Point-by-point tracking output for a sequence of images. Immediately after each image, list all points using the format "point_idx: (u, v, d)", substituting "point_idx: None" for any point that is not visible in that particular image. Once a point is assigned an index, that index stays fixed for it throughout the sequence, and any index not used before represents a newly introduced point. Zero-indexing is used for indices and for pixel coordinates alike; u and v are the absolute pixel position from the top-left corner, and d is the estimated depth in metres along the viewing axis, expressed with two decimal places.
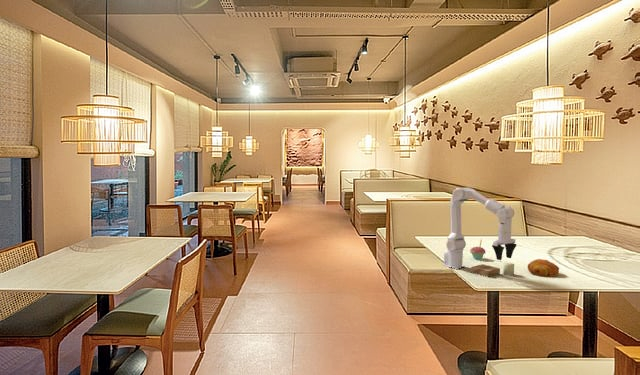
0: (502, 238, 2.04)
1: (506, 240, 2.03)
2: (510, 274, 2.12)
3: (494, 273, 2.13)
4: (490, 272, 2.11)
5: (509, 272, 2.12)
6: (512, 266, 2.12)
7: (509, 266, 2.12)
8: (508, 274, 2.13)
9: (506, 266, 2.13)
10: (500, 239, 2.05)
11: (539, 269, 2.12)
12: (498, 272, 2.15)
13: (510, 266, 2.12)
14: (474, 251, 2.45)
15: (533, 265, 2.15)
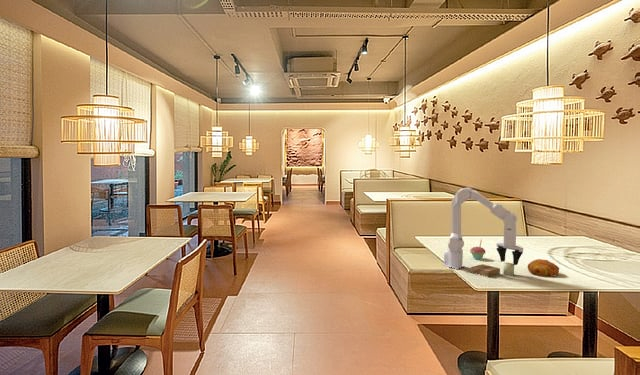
0: None
1: (503, 244, 2.14)
2: (510, 274, 2.12)
3: (494, 273, 2.13)
4: (490, 272, 2.11)
5: (509, 272, 2.12)
6: (512, 266, 2.12)
7: (509, 266, 2.12)
8: (508, 274, 2.13)
9: (506, 266, 2.13)
10: None
11: (539, 269, 2.12)
12: (498, 272, 2.15)
13: (510, 266, 2.12)
14: (474, 251, 2.45)
15: (533, 265, 2.15)
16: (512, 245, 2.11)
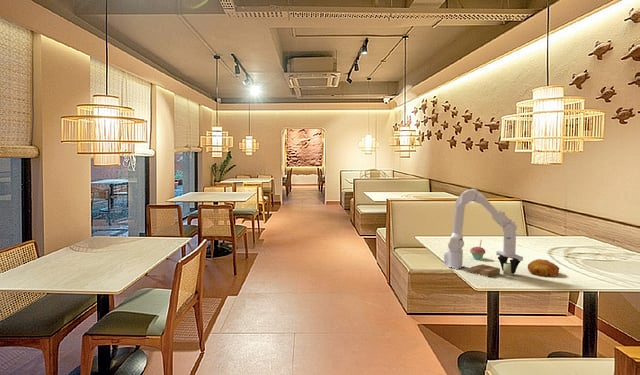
0: None
1: (503, 252, 2.14)
2: (510, 274, 2.12)
3: (494, 273, 2.13)
4: (490, 272, 2.11)
5: (509, 272, 2.12)
6: None
7: (509, 266, 2.12)
8: (508, 274, 2.13)
9: (506, 266, 2.13)
10: None
11: (539, 269, 2.12)
12: (498, 272, 2.15)
13: (510, 266, 2.12)
14: (474, 251, 2.45)
15: (533, 265, 2.15)
16: (512, 254, 2.11)
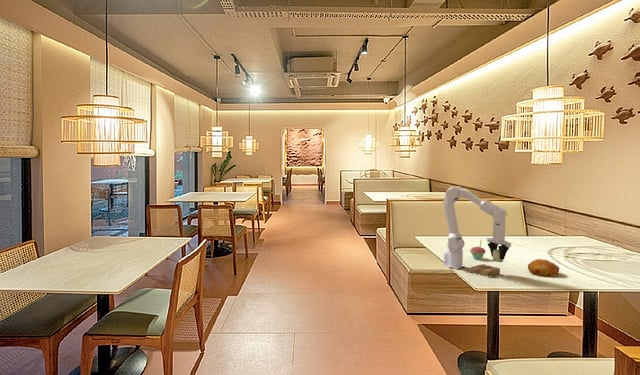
0: None
1: (492, 239, 2.15)
2: (499, 260, 2.13)
3: (494, 273, 2.13)
4: (490, 272, 2.11)
5: (498, 258, 2.13)
6: None
7: (498, 252, 2.13)
8: (497, 260, 2.13)
9: (495, 252, 2.14)
10: None
11: (539, 269, 2.12)
12: (498, 272, 2.15)
13: (499, 252, 2.13)
14: (474, 251, 2.45)
15: (533, 265, 2.15)
16: (500, 240, 2.12)
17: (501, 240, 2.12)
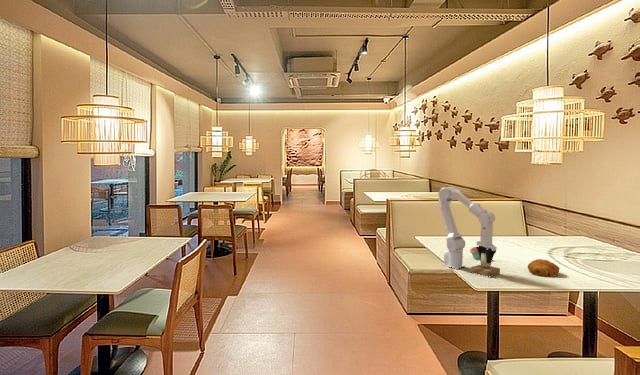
0: None
1: (480, 242, 2.17)
2: (486, 264, 2.14)
3: (494, 273, 2.13)
4: (490, 272, 2.11)
5: (485, 262, 2.14)
6: None
7: (485, 256, 2.14)
8: (484, 264, 2.15)
9: (482, 256, 2.15)
10: None
11: (539, 269, 2.12)
12: (498, 272, 2.15)
13: None
14: (474, 251, 2.45)
15: (533, 265, 2.15)
16: (487, 244, 2.13)
17: (488, 244, 2.13)
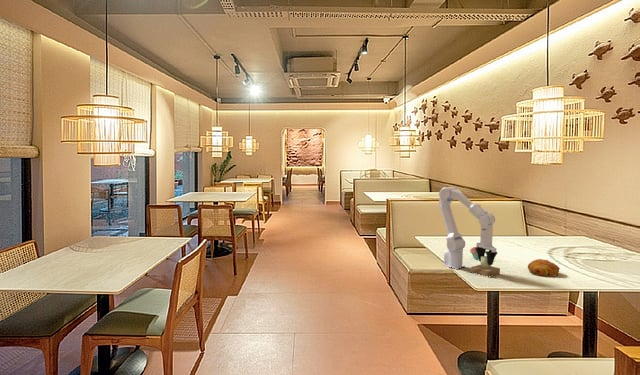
0: None
1: (480, 244, 2.17)
2: (485, 267, 2.14)
3: (494, 273, 2.13)
4: (490, 272, 2.11)
5: (484, 265, 2.14)
6: None
7: (485, 259, 2.14)
8: (483, 267, 2.15)
9: (482, 259, 2.15)
10: None
11: (539, 269, 2.12)
12: (498, 272, 2.15)
13: (485, 259, 2.14)
14: (474, 251, 2.45)
15: (533, 265, 2.15)
16: (487, 245, 2.13)
17: (487, 245, 2.13)
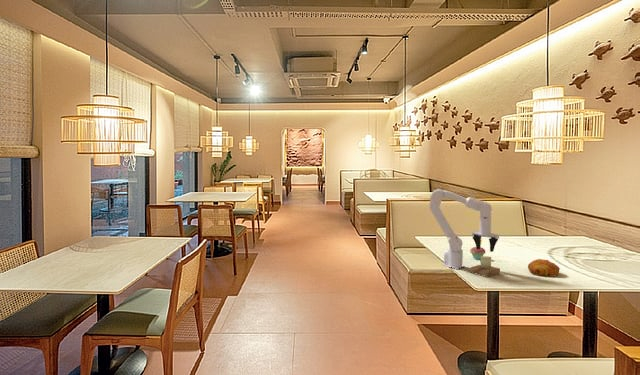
0: None
1: (480, 232, 2.23)
2: (485, 267, 2.14)
3: (494, 273, 2.13)
4: (490, 272, 2.11)
5: (484, 265, 2.14)
6: (487, 259, 2.14)
7: (485, 259, 2.14)
8: (483, 267, 2.15)
9: (482, 259, 2.15)
10: None
11: (539, 269, 2.12)
12: (498, 272, 2.15)
13: (485, 259, 2.14)
14: (474, 251, 2.45)
15: (533, 265, 2.15)
16: (488, 233, 2.20)
17: (489, 233, 2.20)
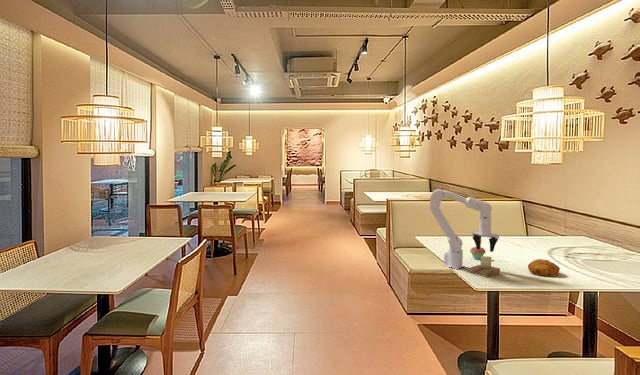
0: None
1: (480, 232, 2.23)
2: (485, 267, 2.14)
3: (494, 273, 2.13)
4: (490, 272, 2.11)
5: (485, 265, 2.14)
6: (488, 259, 2.14)
7: (485, 259, 2.14)
8: (483, 267, 2.15)
9: (482, 259, 2.15)
10: None
11: (539, 269, 2.12)
12: (498, 272, 2.15)
13: (485, 259, 2.14)
14: (474, 251, 2.45)
15: (533, 265, 2.15)
16: (488, 233, 2.20)
17: (489, 233, 2.20)
